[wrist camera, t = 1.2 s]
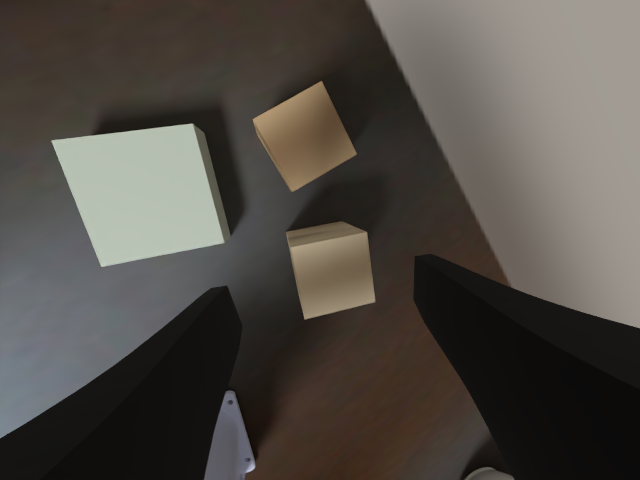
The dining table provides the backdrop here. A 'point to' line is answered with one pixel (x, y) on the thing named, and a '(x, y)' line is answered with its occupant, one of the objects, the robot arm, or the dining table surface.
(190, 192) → the plinth block
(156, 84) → the dining table surface
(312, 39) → the dining table surface
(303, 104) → the oak block
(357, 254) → the maple block
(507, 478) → the lidded jar
